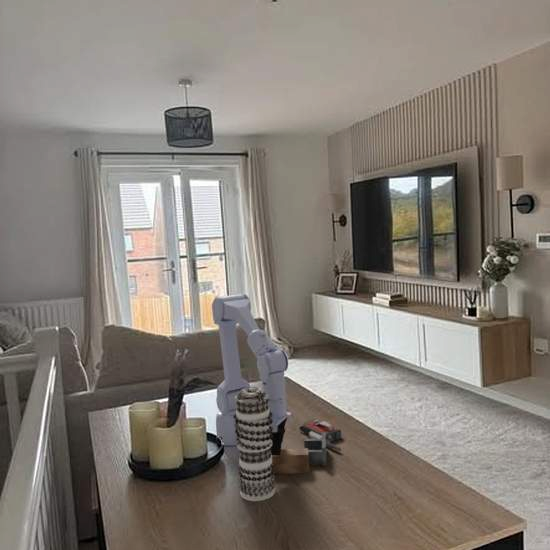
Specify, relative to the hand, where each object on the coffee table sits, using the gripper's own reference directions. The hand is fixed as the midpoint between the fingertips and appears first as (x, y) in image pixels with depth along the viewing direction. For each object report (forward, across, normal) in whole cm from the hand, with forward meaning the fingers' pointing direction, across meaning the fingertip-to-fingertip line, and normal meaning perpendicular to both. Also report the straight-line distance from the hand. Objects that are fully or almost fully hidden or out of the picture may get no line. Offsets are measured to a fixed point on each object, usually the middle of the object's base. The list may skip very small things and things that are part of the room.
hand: (277, 448), depth 133 cm
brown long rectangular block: (+6, 0, 0) cm, 6 cm away
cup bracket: (+6, +7, -9) cm, 13 cm away
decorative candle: (+6, -11, +4) cm, 13 cm away
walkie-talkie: (+6, +19, -12) cm, 24 cm away
